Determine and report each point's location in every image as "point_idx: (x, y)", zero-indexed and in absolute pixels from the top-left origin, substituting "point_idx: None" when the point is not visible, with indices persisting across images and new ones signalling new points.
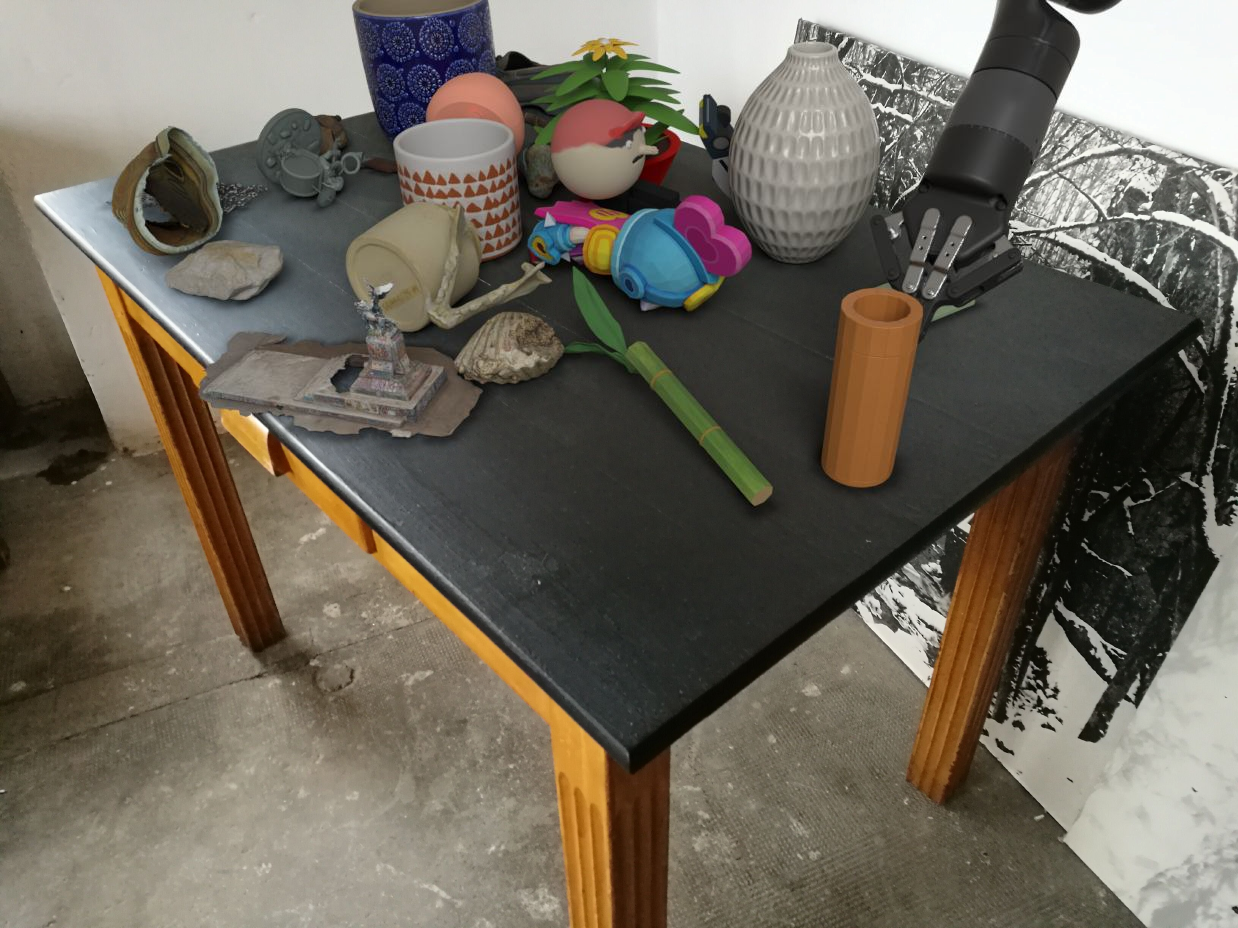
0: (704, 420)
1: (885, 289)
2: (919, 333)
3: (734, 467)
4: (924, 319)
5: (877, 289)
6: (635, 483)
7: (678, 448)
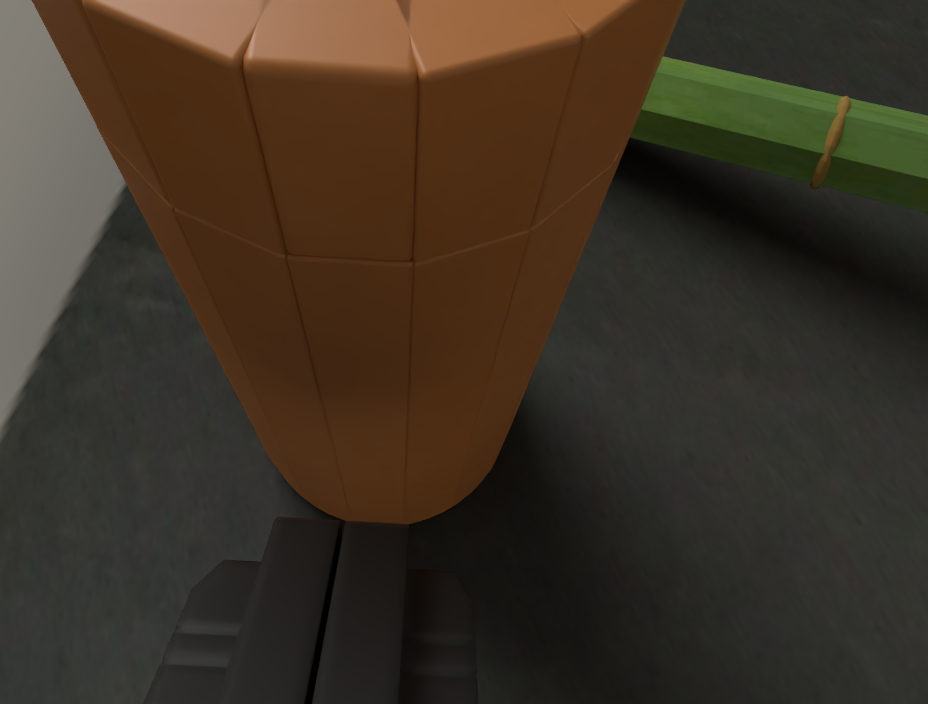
0: (888, 120)
1: (468, 38)
2: (201, 593)
3: (674, 60)
4: (176, 679)
5: (547, 14)
6: (878, 44)
7: (898, 210)
